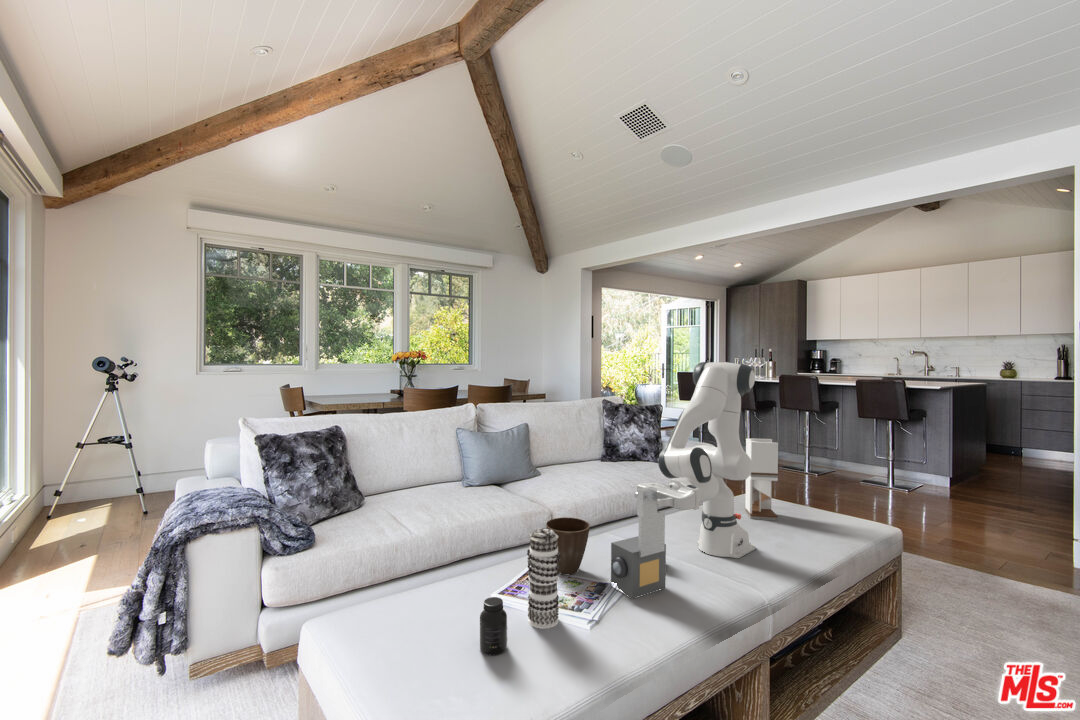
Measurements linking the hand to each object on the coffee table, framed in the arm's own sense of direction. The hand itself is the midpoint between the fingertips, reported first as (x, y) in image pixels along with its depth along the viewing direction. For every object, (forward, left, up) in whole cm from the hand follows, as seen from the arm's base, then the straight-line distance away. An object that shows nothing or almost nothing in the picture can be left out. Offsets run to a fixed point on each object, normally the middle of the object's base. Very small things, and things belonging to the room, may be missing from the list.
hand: (646, 498), depth 159 cm
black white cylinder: (+35, -4, -30) cm, 46 cm away
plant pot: (+10, -28, -30) cm, 42 cm away
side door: (-2, 0, -17) cm, 17 cm away
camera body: (-2, -6, -30) cm, 31 cm away
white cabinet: (-102, -32, -30) cm, 111 cm away
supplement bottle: (+53, +1, -30) cm, 61 cm away
